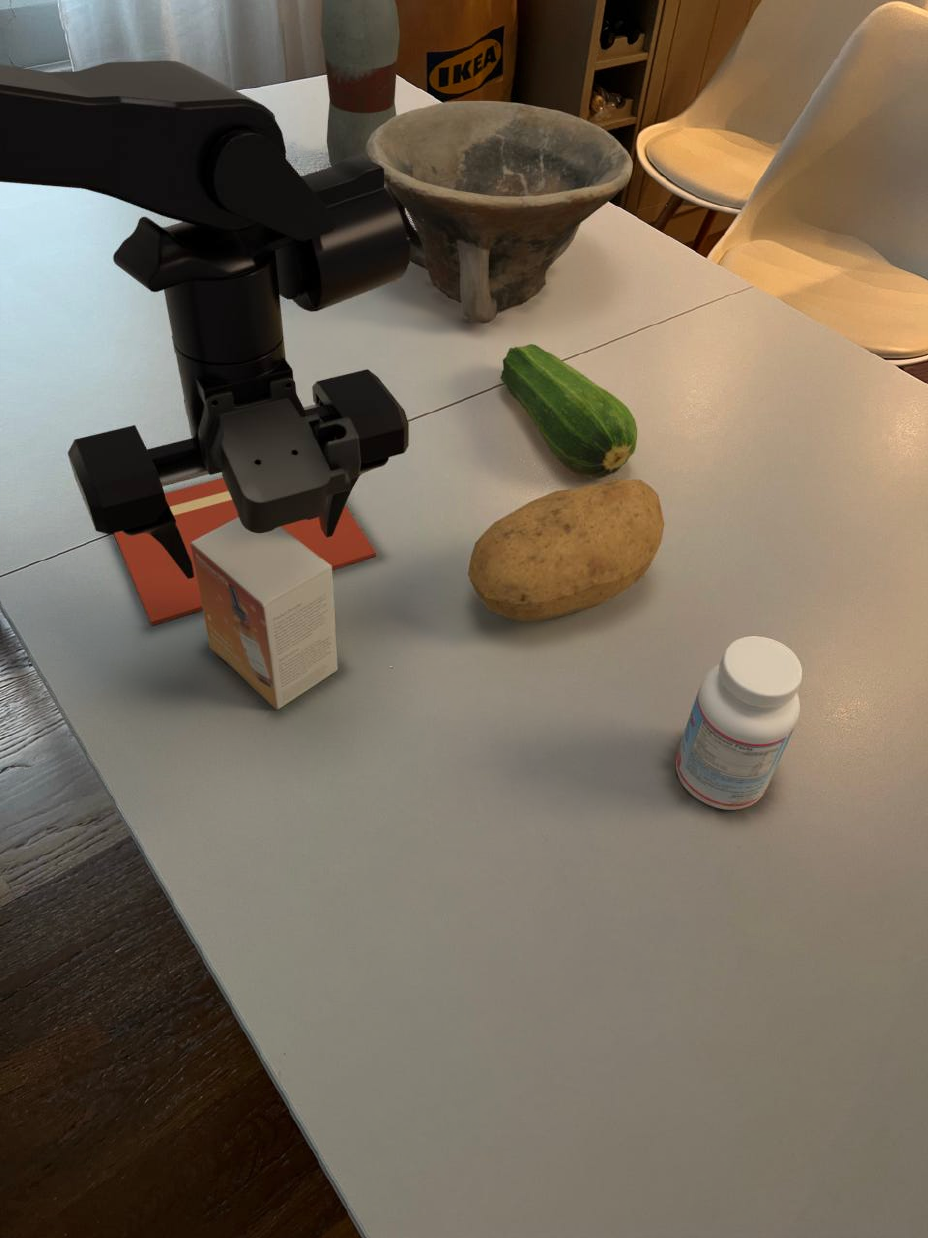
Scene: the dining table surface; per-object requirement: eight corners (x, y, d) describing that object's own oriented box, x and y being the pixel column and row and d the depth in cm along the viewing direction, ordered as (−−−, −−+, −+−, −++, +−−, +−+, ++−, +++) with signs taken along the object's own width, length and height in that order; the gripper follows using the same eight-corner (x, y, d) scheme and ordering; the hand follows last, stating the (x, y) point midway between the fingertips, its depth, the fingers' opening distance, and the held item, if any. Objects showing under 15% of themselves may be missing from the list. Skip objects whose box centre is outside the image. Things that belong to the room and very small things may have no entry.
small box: (209, 649, 72) (186, 540, 65) (271, 611, 75) (256, 503, 67) (277, 713, 68) (261, 606, 61) (340, 671, 71) (333, 563, 64)
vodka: (314, 169, 130) (296, -112, 108) (371, 154, 134) (365, -121, 112) (356, 195, 125) (347, -94, 103) (414, 178, 129) (417, -103, 108)
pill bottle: (707, 723, 70) (747, 610, 61) (783, 775, 67) (835, 664, 59) (655, 774, 66) (690, 662, 58) (733, 831, 64) (781, 722, 55)
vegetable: (604, 413, 80) (502, 296, 93) (559, 485, 84) (466, 364, 96) (667, 432, 84) (561, 318, 97) (622, 500, 88) (525, 381, 101)
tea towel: (151, 625, 74) (150, 621, 73) (104, 512, 82) (103, 508, 82) (376, 556, 80) (376, 552, 79) (311, 457, 88) (311, 453, 88)
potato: (445, 583, 78) (449, 489, 71) (620, 537, 83) (639, 445, 76) (489, 661, 73) (498, 568, 66) (674, 608, 77) (700, 516, 70)
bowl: (550, 214, 124) (565, 83, 113) (654, 320, 107) (683, 179, 96) (341, 242, 116) (335, 105, 105) (418, 361, 100) (420, 213, 89)
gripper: (84, 466, 45) (148, 689, 56) (455, 374, 51) (446, 590, 63) (34, 344, 52) (100, 565, 63) (367, 275, 58) (373, 487, 69)
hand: (259, 553), depth 64 cm, fingers open, 9 cm apart
